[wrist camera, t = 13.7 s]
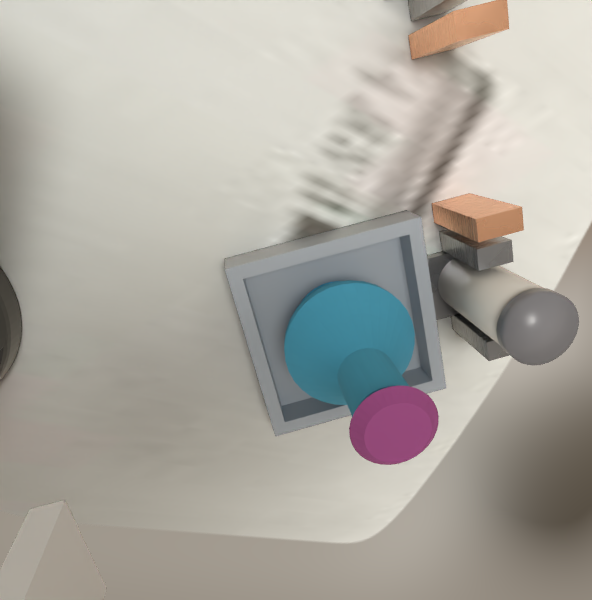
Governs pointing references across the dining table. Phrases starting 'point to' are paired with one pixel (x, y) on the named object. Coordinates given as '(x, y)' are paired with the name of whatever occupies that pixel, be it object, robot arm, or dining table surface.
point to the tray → (319, 270)
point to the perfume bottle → (362, 367)
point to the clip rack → (469, 208)
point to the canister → (511, 310)
